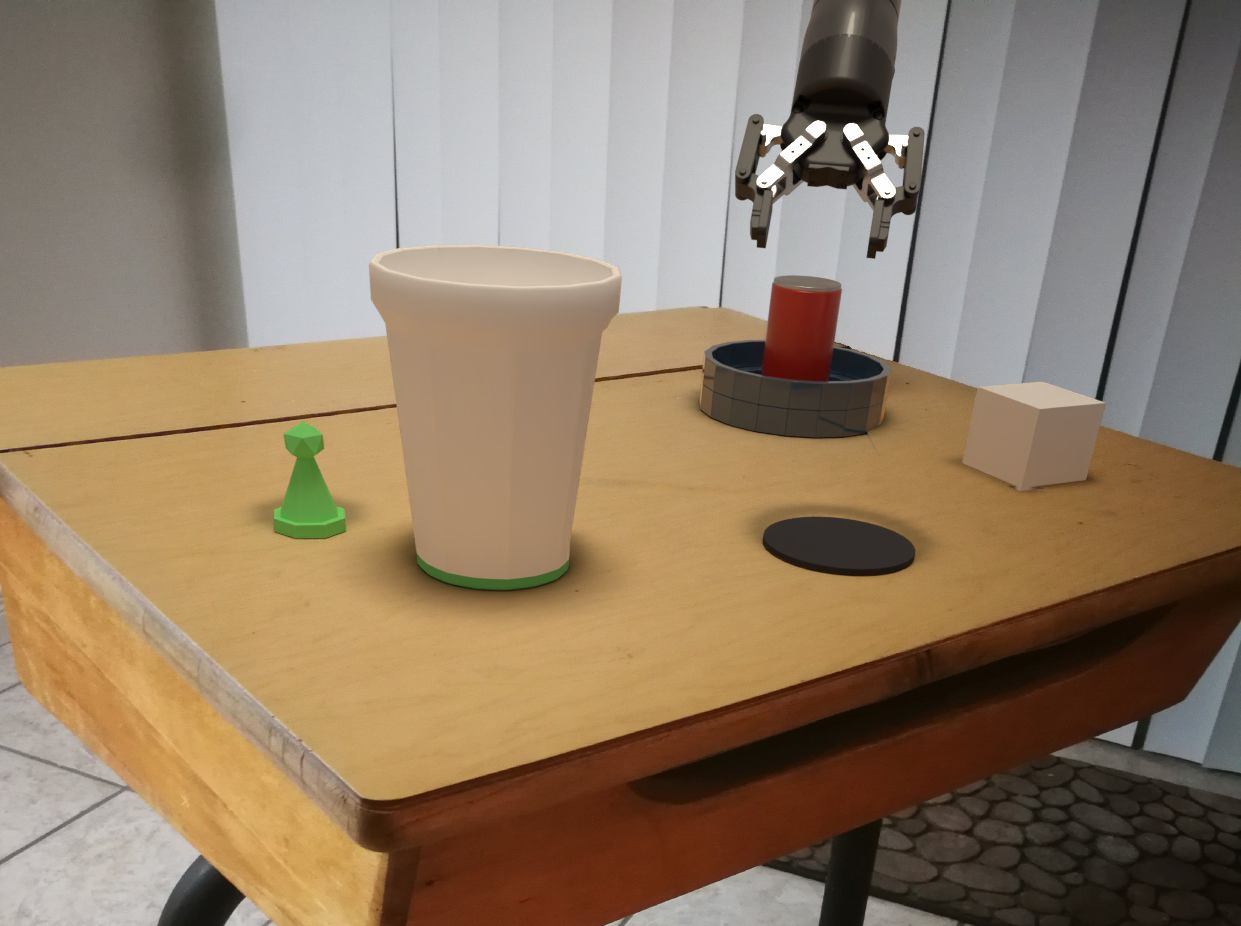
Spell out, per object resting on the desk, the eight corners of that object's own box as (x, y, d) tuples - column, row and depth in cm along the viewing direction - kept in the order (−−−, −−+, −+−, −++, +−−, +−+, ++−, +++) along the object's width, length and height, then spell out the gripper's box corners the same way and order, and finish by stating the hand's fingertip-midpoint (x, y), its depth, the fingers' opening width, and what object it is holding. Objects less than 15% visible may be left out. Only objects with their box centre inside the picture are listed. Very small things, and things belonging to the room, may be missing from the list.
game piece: (360, 532, 75) (355, 427, 72) (289, 543, 73) (281, 435, 70) (329, 510, 78) (323, 407, 75) (260, 520, 76) (251, 415, 73)
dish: (865, 402, 108) (875, 346, 106) (894, 451, 96) (905, 388, 94) (695, 392, 108) (700, 334, 105) (703, 439, 96) (709, 375, 93)
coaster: (900, 527, 81) (901, 521, 81) (927, 579, 74) (928, 573, 74) (756, 518, 81) (757, 512, 81) (769, 570, 74) (770, 563, 73)
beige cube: (1083, 491, 90) (1106, 402, 87) (1018, 500, 88) (1040, 409, 84) (1022, 466, 95) (1042, 380, 91) (959, 473, 92) (977, 386, 89)
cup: (453, 622, 65) (451, 294, 57) (340, 545, 73) (324, 248, 65) (650, 579, 71) (674, 279, 63) (526, 513, 80) (532, 239, 71)
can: (819, 405, 104) (837, 277, 99) (827, 423, 99) (847, 289, 94) (754, 401, 104) (769, 273, 99) (759, 418, 99) (775, 285, 94)
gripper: (757, 24, 101) (724, 204, 98) (943, 37, 99) (916, 220, 96) (756, 100, 108) (725, 270, 105) (929, 113, 106) (903, 286, 103)
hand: (816, 246), depth 100 cm, fingers open, 8 cm apart
